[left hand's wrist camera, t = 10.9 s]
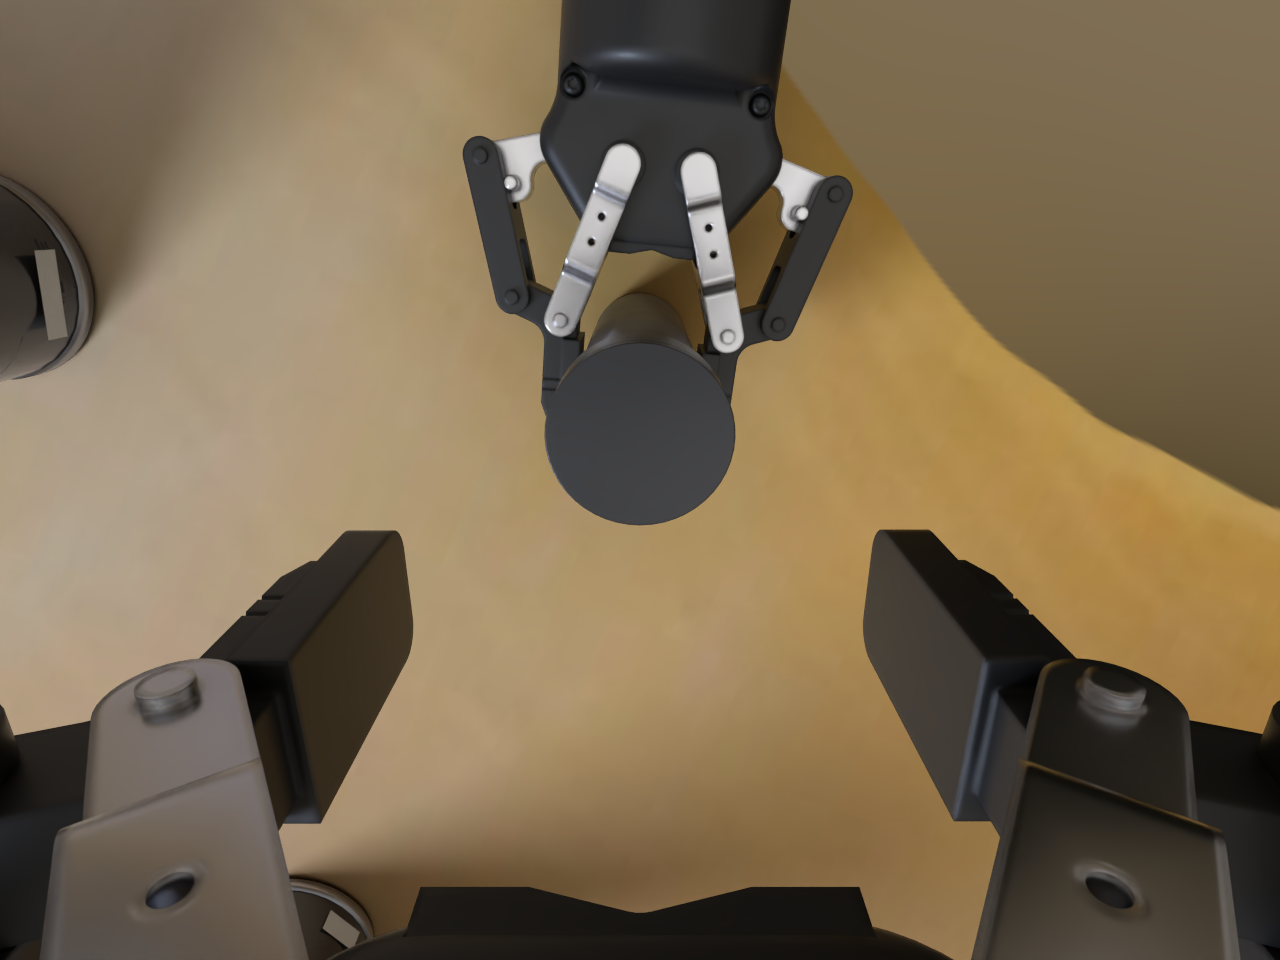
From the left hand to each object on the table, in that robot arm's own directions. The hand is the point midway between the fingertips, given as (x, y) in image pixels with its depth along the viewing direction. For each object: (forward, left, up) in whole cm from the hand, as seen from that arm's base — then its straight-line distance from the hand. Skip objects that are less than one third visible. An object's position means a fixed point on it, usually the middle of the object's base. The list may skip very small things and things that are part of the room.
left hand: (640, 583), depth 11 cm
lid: (0, 0, -8) cm, 8 cm away
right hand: (-1, -3, -18) cm, 18 cm away
